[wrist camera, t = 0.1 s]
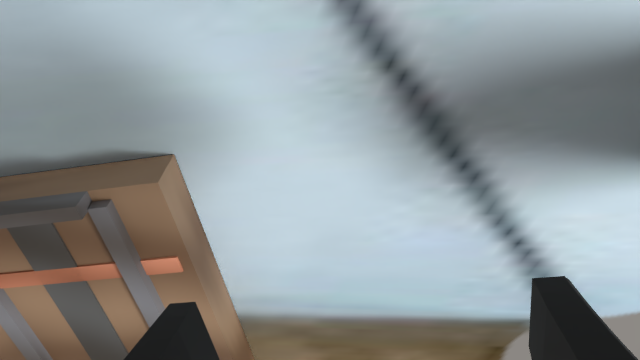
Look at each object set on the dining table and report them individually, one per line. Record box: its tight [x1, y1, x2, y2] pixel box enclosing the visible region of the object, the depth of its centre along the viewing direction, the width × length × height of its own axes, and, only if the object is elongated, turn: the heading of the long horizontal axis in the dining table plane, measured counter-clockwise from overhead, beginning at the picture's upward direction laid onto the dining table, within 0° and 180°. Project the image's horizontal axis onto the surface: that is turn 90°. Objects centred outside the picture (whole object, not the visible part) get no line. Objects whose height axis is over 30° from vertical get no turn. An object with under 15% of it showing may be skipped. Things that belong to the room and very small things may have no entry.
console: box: [0, 155, 255, 360], centre depth 27 cm, size 20×12×3 cm, turn 11°
